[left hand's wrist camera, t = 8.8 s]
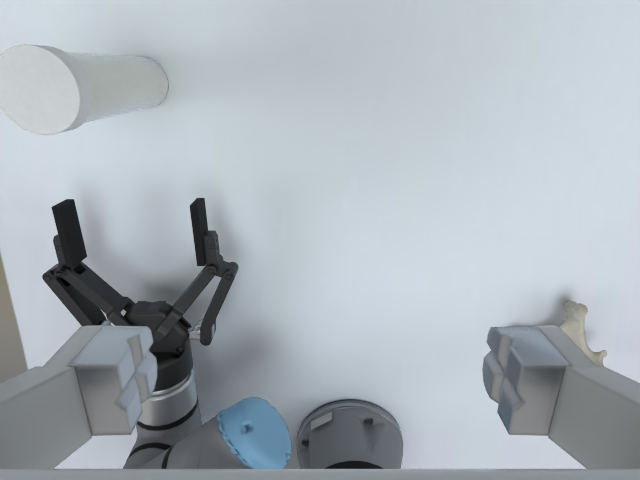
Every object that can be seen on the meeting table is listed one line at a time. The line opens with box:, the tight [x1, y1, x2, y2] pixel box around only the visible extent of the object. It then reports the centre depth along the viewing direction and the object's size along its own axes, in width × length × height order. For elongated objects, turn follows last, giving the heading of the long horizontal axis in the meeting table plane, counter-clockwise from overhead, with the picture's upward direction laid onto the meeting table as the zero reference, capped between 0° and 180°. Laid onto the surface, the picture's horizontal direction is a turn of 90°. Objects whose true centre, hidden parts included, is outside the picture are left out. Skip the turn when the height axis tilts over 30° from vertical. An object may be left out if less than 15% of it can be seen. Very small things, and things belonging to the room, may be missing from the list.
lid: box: [0, 45, 94, 135], centre depth 29 cm, size 6×6×2 cm
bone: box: [559, 301, 607, 367], centre depth 55 cm, size 10×6×10 cm
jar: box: [66, 52, 168, 123], centre depth 37 cm, size 5×5×18 cm
